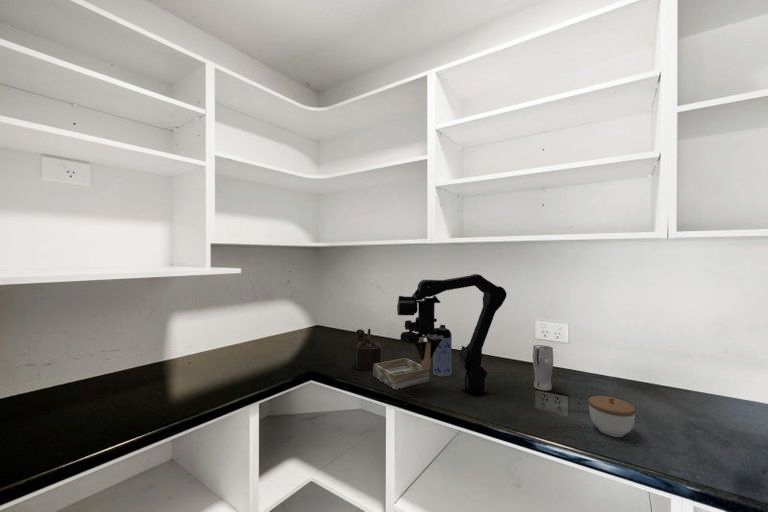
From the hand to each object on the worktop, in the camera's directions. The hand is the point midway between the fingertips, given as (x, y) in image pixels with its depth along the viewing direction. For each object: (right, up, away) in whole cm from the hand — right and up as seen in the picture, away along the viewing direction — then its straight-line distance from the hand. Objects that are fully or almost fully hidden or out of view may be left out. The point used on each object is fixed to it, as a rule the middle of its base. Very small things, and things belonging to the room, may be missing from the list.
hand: (425, 359), depth 118 cm
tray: (-8, -12, +14) cm, 20 cm away
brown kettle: (-22, -12, +26) cm, 36 cm away
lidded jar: (+48, -12, -26) cm, 56 cm away
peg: (0, -3, 0) cm, 3 cm away
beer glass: (+44, -13, +6) cm, 46 cm away
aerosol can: (+9, -12, +21) cm, 26 cm away
